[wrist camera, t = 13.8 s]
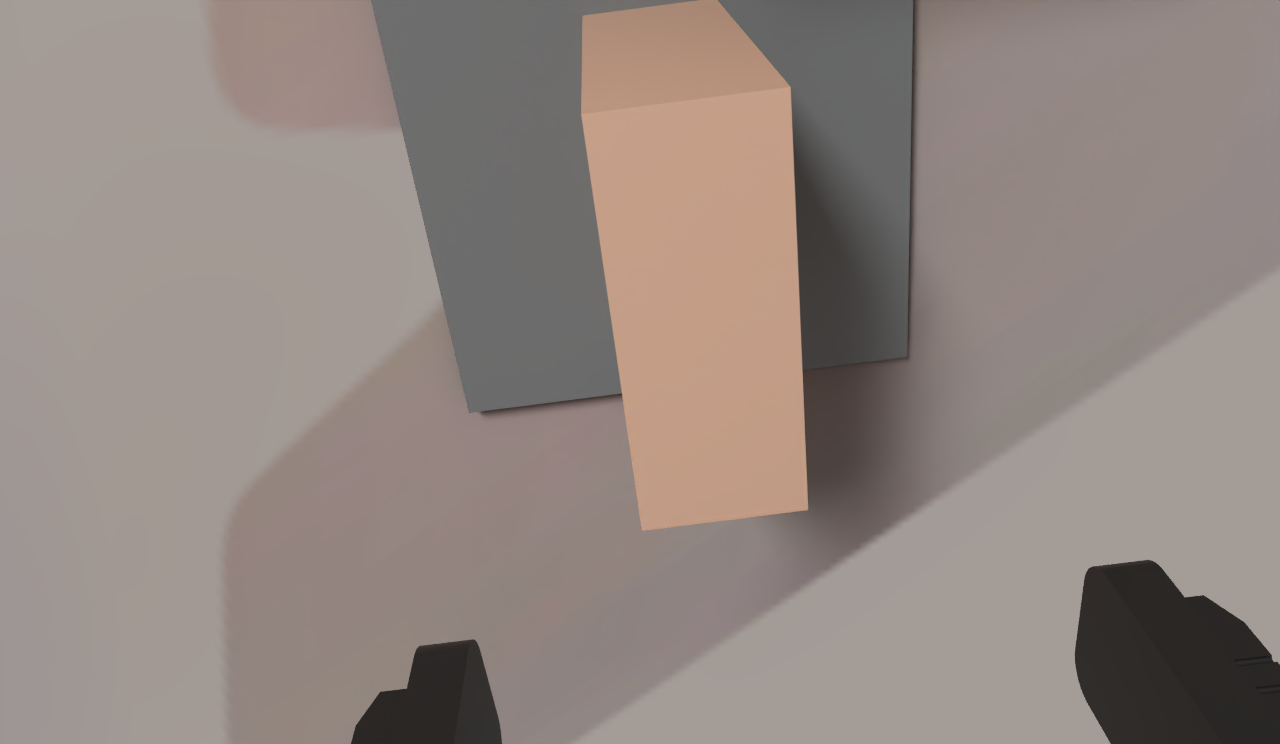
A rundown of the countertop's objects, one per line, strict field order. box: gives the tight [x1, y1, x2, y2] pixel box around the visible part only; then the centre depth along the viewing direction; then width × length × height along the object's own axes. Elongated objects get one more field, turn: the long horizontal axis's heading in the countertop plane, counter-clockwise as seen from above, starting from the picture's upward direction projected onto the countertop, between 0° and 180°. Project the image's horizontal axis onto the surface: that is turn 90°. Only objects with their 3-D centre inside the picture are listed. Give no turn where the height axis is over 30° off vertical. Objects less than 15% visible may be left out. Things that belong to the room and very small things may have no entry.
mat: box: [371, 0, 913, 413], centre depth 32 cm, size 16×16×1 cm
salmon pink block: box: [581, 0, 808, 531], centre depth 26 cm, size 4×10×12 cm, turn 7°
